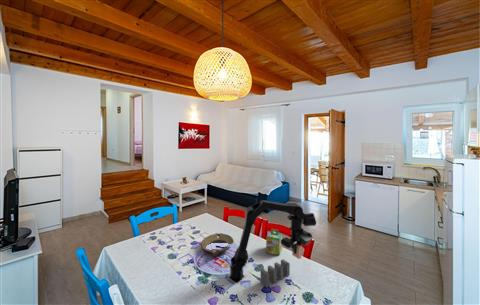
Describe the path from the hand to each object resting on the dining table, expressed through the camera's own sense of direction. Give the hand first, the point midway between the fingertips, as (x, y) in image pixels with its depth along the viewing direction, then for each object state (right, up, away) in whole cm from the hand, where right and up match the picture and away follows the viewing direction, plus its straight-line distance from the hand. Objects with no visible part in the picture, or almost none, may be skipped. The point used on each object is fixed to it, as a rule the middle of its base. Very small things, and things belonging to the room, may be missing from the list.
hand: (296, 253), depth 116 cm
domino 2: (-15, -13, -5) cm, 20 cm away
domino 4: (-6, -12, +1) cm, 14 cm away
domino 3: (-10, -12, -2) cm, 16 cm away
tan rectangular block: (0, -2, 0) cm, 2 cm away
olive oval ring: (-49, -11, +27) cm, 57 cm away
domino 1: (-19, -13, -7) cm, 24 cm away
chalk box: (-8, -11, +24) cm, 28 cm away
